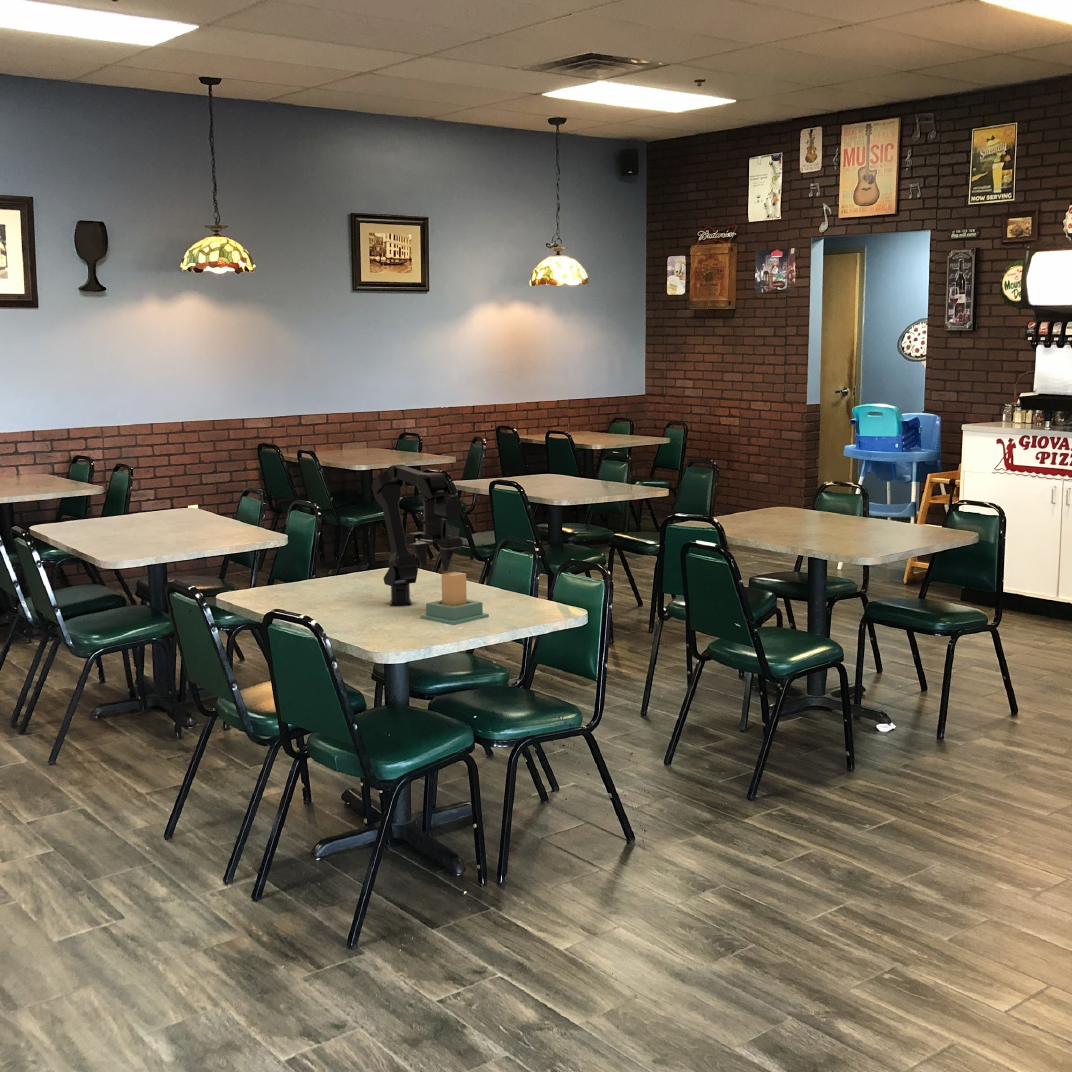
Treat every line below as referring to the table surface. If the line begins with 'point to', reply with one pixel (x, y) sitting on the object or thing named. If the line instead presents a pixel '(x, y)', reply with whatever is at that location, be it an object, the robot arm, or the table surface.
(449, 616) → the socket housing
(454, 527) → the robot arm
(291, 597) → the table surface
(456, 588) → the plug
